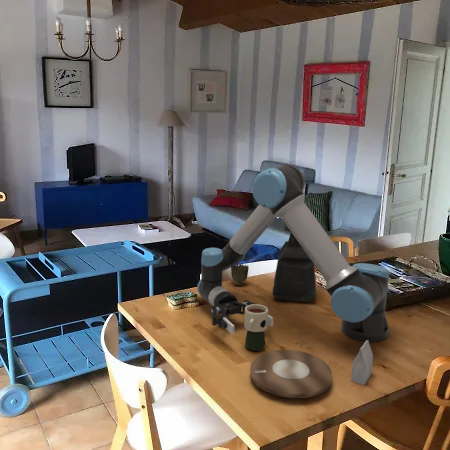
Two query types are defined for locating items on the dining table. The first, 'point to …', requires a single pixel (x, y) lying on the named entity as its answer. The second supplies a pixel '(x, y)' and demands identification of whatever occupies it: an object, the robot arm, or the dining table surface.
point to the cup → (239, 274)
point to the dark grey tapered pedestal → (294, 273)
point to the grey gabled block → (362, 365)
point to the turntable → (291, 373)
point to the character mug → (255, 326)
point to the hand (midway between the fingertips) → (253, 326)
